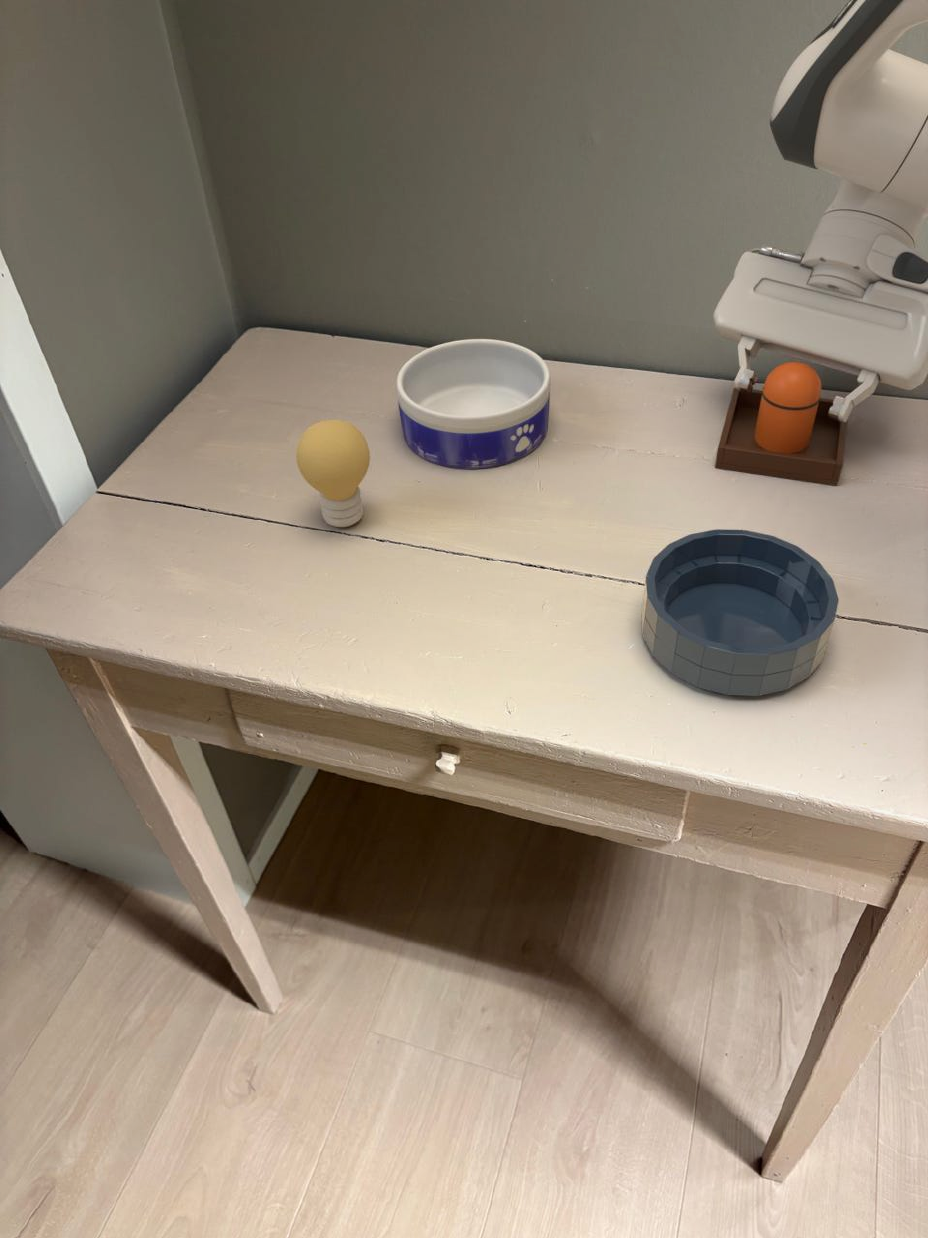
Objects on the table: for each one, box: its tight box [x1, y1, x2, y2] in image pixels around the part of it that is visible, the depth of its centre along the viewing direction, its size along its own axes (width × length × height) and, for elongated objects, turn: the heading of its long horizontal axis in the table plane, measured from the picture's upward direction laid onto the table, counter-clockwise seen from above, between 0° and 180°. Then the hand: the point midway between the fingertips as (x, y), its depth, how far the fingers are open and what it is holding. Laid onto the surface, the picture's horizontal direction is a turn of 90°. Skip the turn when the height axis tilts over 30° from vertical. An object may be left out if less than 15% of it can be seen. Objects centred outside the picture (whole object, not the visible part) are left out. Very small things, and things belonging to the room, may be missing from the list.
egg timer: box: [754, 361, 822, 454], centre depth 91 cm, size 5×5×8 cm
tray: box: [714, 386, 849, 487], centre depth 93 cm, size 11×11×2 cm
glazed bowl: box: [640, 528, 839, 697], centre depth 74 cm, size 14×14×5 cm
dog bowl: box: [396, 338, 551, 470], centre depth 97 cm, size 15×15×6 cm
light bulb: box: [296, 419, 371, 528], centre depth 85 cm, size 6×6×10 cm
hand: (787, 403), depth 90 cm, fingers open, 8 cm apart
